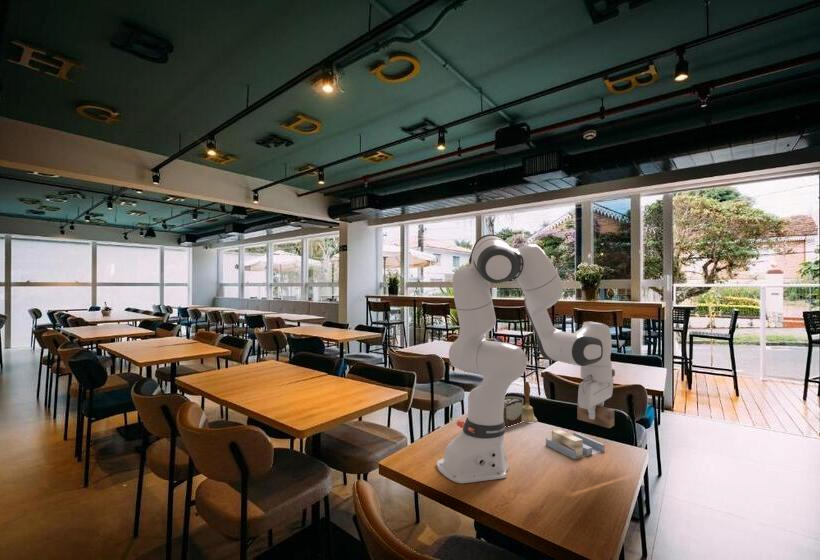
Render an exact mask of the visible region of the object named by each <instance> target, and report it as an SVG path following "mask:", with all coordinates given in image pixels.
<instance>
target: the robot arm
mask: <svg viewBox="0 0 820 560" xmlns="http://www.w3.org/2000/svg"><path fill="white" fill-rule="evenodd" d="M468 263H469V265H467V266H463V267H461V268H459V269H458V270H456V272H455V273H454V274H453V277H452V293H453V299H454V300H453V301H454V304H455V309H456V312H457V313H456V314H457V318H458V324H459V334H458V337H457V338H456V339H455V340H454V341H453V342H452V344H451V345H450V347H449V349H448V360H449V362H450V365H451V366H452V367H454V368H455V369H457V370H460V371H462V372H464V373H468V374H469V373H470V374H474V375H480V376H482V382H483V383H482V382H481V383H482V385H481V384H480V385H481V386H480V385H478V386H476V387H474V388H472V389H471V390H470V392H469V393H468V396H467V417H466V418H465V421H463V420H461V419H458V420H457V421H456V426H458V427H459V428H461V429H462V431H460V433H459V434H457V436H455V438H454V439H452V440H451V441H450V442H449V443H448V444H447V445H446V447H445V449H444V450H445V451H444V454H443V455H444V456H443V458H441V459H438V460H436V468H437V470H438V472H440V473H441V474H442V475H443V476H444V477H446V478H447V479H449V480H451V481H452V482H455V483H458V484H469V483H476V482H483V481H493V480H498V479H499V480H501V479H505V478H507V471H508V470H509V464H508V463H509V462H508V460H507V455H506V449H505V436H504V435H505V433H506V427H505V421H504V420H503V413H504V399H505V397H506V395H507V392H508V389H509V388H510V386H512V385H511V384H512V383H514V382H515V381H516V380H518V379H520V378H521V377H522V376H523V375H524V374H525V372H526V368H527V364H528V363H527V362H528V360H527V356H526V353H525V351H524V350H523V349H522V348H521V346H518V345H514V344H511V343H509V342H504V341H503V342H502V341H494V340H488V339H486V337H485V335H486V334H488V333H489V332H490V331H492V330H493V329H494V327H495V325H496V322H497V317H496V312H495V307H494V302H493V298H492V294H491V283H492V284H502V283H505V282H508V281H511V280H516V281H517V283H518V285H519V287H520V288H521V291H522V292H523V295H524V300H523V304H524V308H525V310H526V315H527V316H528V319H529V321H530V323H531V327H532V328H533V331H534V333H535V336H536V340H537V347H538V350H539V353H540V354H541V356H542V357H543V358H544V359H545V360H546V361H553V362H560V363H564V364H569V365H573V366H577V367H580V378H581V379H583V381H581V382H580V383H579V385H578V392H577V404H578V406H579V407H580V408H584V409H588V412H589V418H590V419H593V420H594V419H595V418H596V413H595V409H596V406H597V405H598V406H602V407H604V405H605V401H607V400H608V399H610V398H611V397H612V396H613V391H614V377H615V376H616V370H615V369H614V368H612V366H613V365H612V360H611V354H612V351H613V350H612V349H613V348H612V334H611V329H610V327H609V325H607V324H605V323H602V322H596V321H595V322H594V321H584V322H583V323H582V327H580V328H579V329H578V330H576V331H574V332H568V331H562V330H560V329H557V328H556V327H555V326H554V324H553V322H552V319H551V317H550V315H549V312H548V309H550V308H551V307H552V306H554V305H556V304H557V302H558V301H560V299H561V297H562V296H563V292H564V285H563V282H562V278H561V277H560V274H559V273H558V271H557V269H556V268H555V266H554V264H553V262H552V261H551V259H550V258H549V256H548V255H547V254H546V252H544V250H543V249H542V248H541V247H540V246H539V245H537V244H535V243H534V244H533V243H528V244H523V245H521V246H519V247H517V248H514V247H511V246H510V245H509V243H507V242H506V241H505V240H504V238H502V237H501V236H499V235H497V234H492V233H491V234H484V235H482V236H480V237H478V239H477V240H476V241H475V242H474V244H473V247H472V250H471V253H470V257H469V259H468Z"/></svg>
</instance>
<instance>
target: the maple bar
mask: <svg viewBox="0 0 820 560" xmlns="http://www.w3.org/2000/svg"><path fill="white" fill-rule="evenodd" d="M551 440H553V441H555V442H557V443H559V444H561V445H563V446H565V447H567V448H569V449H572V450H574V451H576V456H580V455H583V440H582V439H580V438H578V437H576V436H574V434H571V433H569V432H566V431H564V430H561V429H554V430H551Z"/></svg>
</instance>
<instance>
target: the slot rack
mask: <svg viewBox="0 0 820 560" xmlns="http://www.w3.org/2000/svg"><path fill="white" fill-rule="evenodd" d="M573 436H576V437H578V438H580V439H582V440H583V455H580V456H576V451H574V450H572V449H569V448H567V447H565V446H563V445H561V444H559V443H557V442H555V441H553V440H552V438H551V439H550V438H549V437H548V438H545V446H547V447H549V448H551V449H553V450H554V451H557V452H559V453H560V454H563V455H564V456H566V457H568V458H571V459H572V460H577V459H580V458H584V457H588V456H591V455H597V454H599V453H603V452H604V453H605V449H606V448H605V446H606V445H605V444H604V443H602V442H600V441H597V440H595V439H593V438H590V437H589V436H585V435H583V434H582V433H579V432H576V431H574V432H573Z"/></svg>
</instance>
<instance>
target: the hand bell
mask: <svg viewBox="0 0 820 560" xmlns="http://www.w3.org/2000/svg"><path fill="white" fill-rule="evenodd" d="M523 393H524V396H525V397H524V404H523V409H522V421H524V422H535V423H537V422H538V419H537V417H536V416H535V414H534V407H533V406H531V405H530V394H531V386H530V383H529V381H525V382H524V386H523ZM524 422H523V423H524Z"/></svg>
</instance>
